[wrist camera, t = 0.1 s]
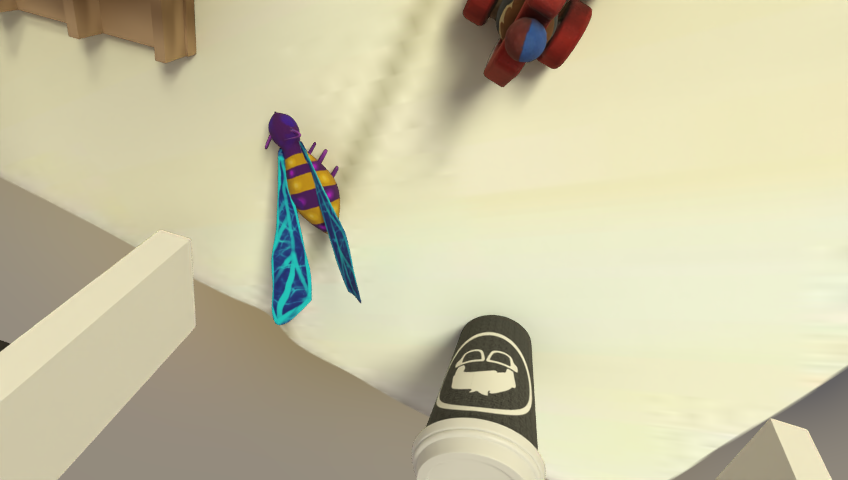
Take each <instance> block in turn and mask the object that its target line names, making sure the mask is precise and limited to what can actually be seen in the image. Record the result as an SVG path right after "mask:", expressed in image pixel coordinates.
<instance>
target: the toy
mask: <svg viewBox="0 0 848 480" xmlns="http://www.w3.org/2000/svg"><path fill="white" fill-rule="evenodd" d="M269 133H270V135H269V137H268V140H267V142H266V145H265V149H267V148H268V146H269V143H270V141H271V139H273V141H274V142H275V143H276V144H277V145H278V146H279V147H280V149H279V151H278V202H277V224H276V234H275V240H274V245H273V251H272V260H271V262H272V280H273V294H272V314H273V319H274V321H275V323H276V324H278V325H283V324H285V323H287V322H289V321H290V320H292V319H293V318H294V317H295V316H296V315H297V314H298V313H299V312H300V311H302V310H303V309H304V308H305V307H306V306H307V304H308V303H309V302H310V301H311V300H312V285H311V273H310V267H309V263H308V259H307V256H306V252H305V248H304V242H303V237H302V233H301V228H300V223H299V218H298V214H297V211H298V212H299V213H300V214H301V215H302V216H303V217H304V218H305V219H306V220H308V221H309V222H310V223H311V224H313V225H314V226H315V227H317V228H318V229H320V230H322V231H323V232H325V233H326V234H328V235H329V238H330V241H331V244H332V248H333V251H334V254H335V258H336V261H337V264H338V267H339V270H340V272H341V275H342V277H343V280H344V282H345V285H346V287H347V290H348V292H350V293H352V294H353V295H354V296H355V297H356V298H357V299H358V301H359V302H360V303H361V299H360V295H359V291H358V287H357V283H356V278H355V274H354V270H353V264H352V259H351V254H350V249H349V245H348V241H347V237H346V234H345V231H344V229H343V227H342V225H341V223H340V221H339V212H340V197H339V190H338V187H337V184H336V182H335V180H334V176H335V174H336V173H337V171H338V168H339V167H338V166H336V167H335V168H334V170H333V172H332V173H331V174H330V173H329V171H328V170H327V169H326V168H325V167H324V166H323V165H322V164H321V163H322V161H323V159H324V157H325V155H326V153H327V149H325V150H324V151H323V153H322V154H321V156H320V158H319V159H318V160H317V159H315V158H314V157H313V156H312V155H311V153H312V151H313V149H314V147H315V145H316V142H314V143H313V145H312V146H311V148H310V150H309V151H307V150H306V149H305V147H304V145H303V143H302V142H301V141H300V137H301V134H300V132H299V128H298V126H297V124H296V122H295V121H294V119H293V118H291V117H290V116H288V115H286V114H283V113H276V112H275V113H274V115H273V116H272V118H271V119H270V122H269Z"/></svg>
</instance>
